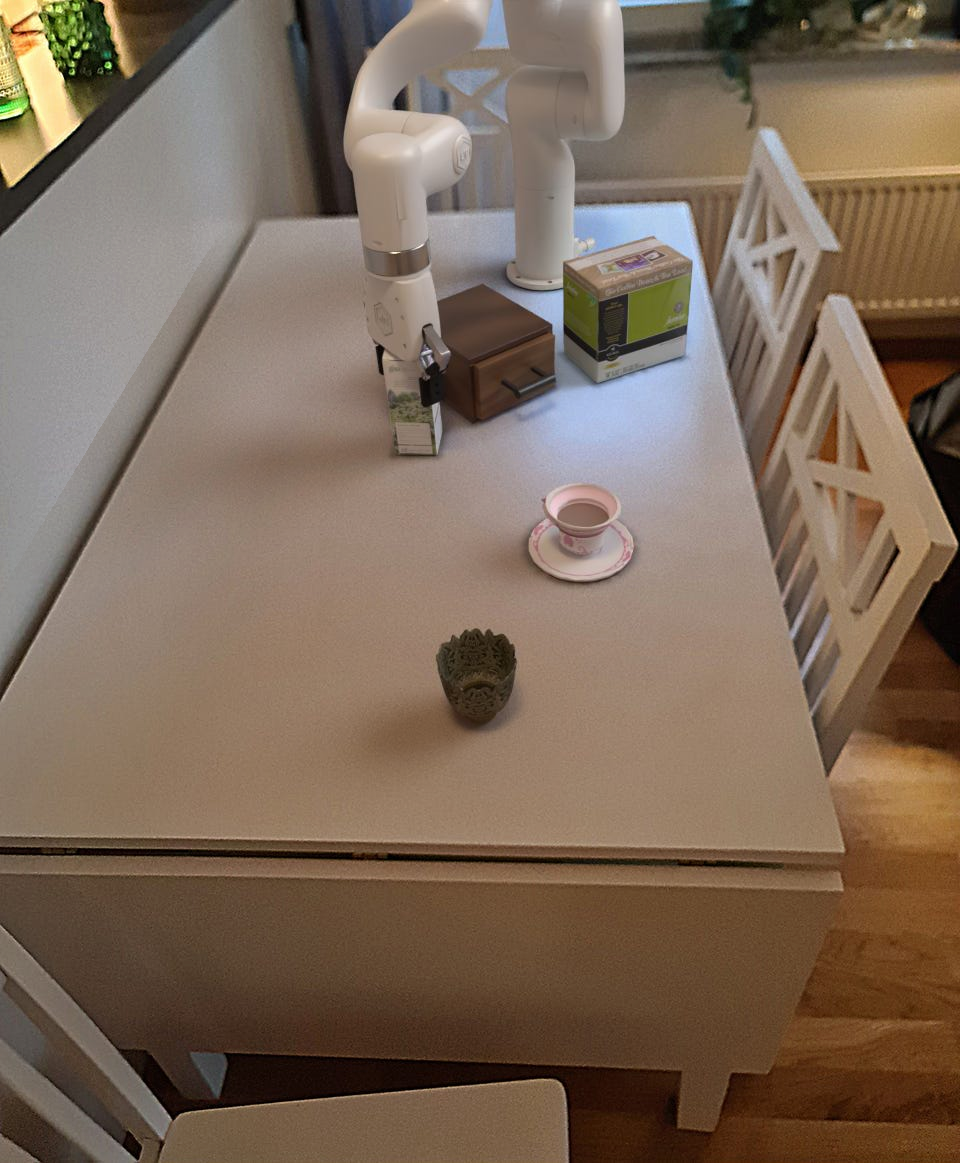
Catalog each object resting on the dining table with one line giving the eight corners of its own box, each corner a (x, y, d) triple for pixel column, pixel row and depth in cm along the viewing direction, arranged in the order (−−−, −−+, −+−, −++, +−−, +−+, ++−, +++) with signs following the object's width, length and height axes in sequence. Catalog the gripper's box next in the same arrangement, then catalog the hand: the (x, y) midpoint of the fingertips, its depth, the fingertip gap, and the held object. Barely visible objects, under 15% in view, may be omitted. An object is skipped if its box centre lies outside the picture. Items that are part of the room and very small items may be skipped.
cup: (440, 685, 95) (433, 630, 89) (514, 678, 95) (511, 623, 89) (444, 746, 89) (438, 691, 84) (522, 738, 89) (521, 683, 84)
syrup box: (443, 431, 126) (434, 333, 116) (437, 457, 122) (427, 358, 112) (401, 430, 127) (388, 333, 117) (394, 457, 123) (380, 358, 113)
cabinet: (552, 387, 133) (552, 324, 126) (473, 424, 127) (468, 359, 121) (485, 344, 142) (482, 283, 136) (409, 376, 137) (401, 314, 130)
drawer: (575, 399, 129) (576, 348, 123) (501, 434, 124) (498, 382, 118) (491, 346, 140) (489, 296, 135) (421, 376, 135) (415, 325, 130)
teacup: (649, 530, 110) (653, 488, 106) (609, 596, 102) (611, 554, 98) (555, 503, 114) (555, 462, 110) (510, 564, 107) (508, 522, 103)
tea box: (647, 328, 143) (655, 232, 133) (686, 357, 137) (697, 259, 127) (560, 354, 139) (561, 257, 129) (595, 386, 133) (599, 287, 122)
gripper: (330, 239, 110) (350, 369, 122) (411, 291, 100) (425, 427, 112) (384, 222, 113) (399, 350, 125) (468, 270, 103) (476, 405, 115)
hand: (411, 386), depth 118 cm, fingers open, 9 cm apart
